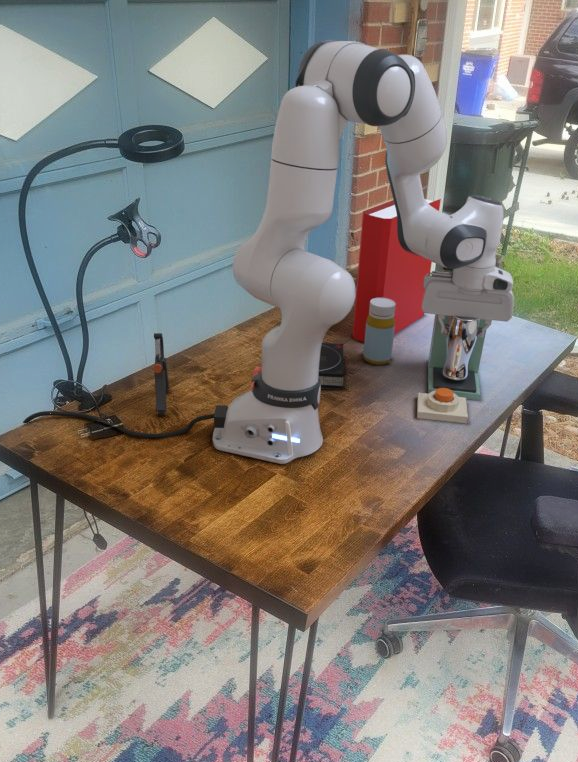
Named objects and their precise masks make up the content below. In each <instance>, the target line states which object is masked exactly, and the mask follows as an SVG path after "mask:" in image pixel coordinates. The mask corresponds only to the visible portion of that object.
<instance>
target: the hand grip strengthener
mask: <svg viewBox="0 0 578 762" xmlns="http://www.w3.org/2000/svg"><path fill="white" fill-rule="evenodd" d="M153 339H154V350H155V352H154V353H155V357H154V365H153V368H152V370H153V373H154V375H153V376H154V386H155V387H154V393H155V412H156V413H157V415H158V416H166V413H167V411H168V410H167V409H168V408H167V406H168V405H167V395H168V393H169V390H170V381H169V373H168V363H167V358H166V357H165V349H164V337H163V333H161V332H154V333H153Z"/></svg>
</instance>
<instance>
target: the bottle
mask: <svg viewBox="0 0 578 762" xmlns="http://www.w3.org/2000/svg"><path fill="white" fill-rule="evenodd" d="M395 305H396V304H395V302H394V301H393V300H391V299H387V298H374V299H372V300H371V301H370V307H369V315H368V318H367V321H366V331H365V342H363V343H364V344H363V353H362V354H363V359H364V360H365V362H366V363H368V364H371V365H375V366H383V365H386V364H388V363H389V362H390V361H391V359H392V354H393V345H394V336H395V334H394V329H395V319H394V312H395Z"/></svg>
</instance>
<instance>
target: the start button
mask: <svg viewBox="0 0 578 762" xmlns="http://www.w3.org/2000/svg"><path fill="white" fill-rule="evenodd" d="M453 394H454V393H453V391H452V390H450V389H447V388H438V389H437V390H436V392H435V399H436V400H437V401H440V402H445V403H447V402H451V401H452V399H453Z"/></svg>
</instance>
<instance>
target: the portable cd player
mask: <svg viewBox="0 0 578 762" xmlns="http://www.w3.org/2000/svg"><path fill="white" fill-rule="evenodd" d="M344 365H345V364H344V344H343V343H334V342H333V343H331V342H322V345H321V351H320V361H319V377H320V385H321V390H336V391H343V390H344V377H345V371H344V370H345V369H344V367H345V366H344Z"/></svg>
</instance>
